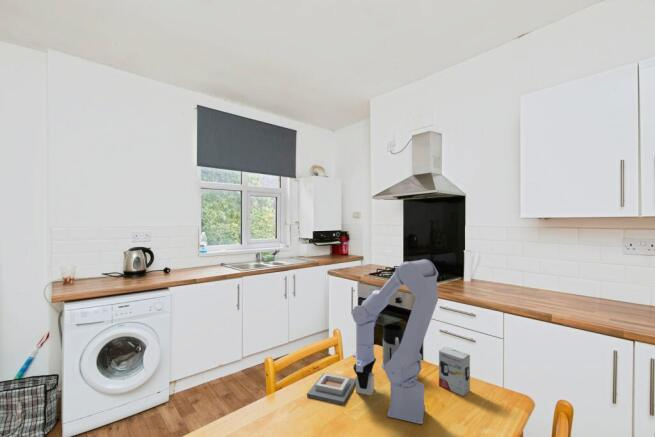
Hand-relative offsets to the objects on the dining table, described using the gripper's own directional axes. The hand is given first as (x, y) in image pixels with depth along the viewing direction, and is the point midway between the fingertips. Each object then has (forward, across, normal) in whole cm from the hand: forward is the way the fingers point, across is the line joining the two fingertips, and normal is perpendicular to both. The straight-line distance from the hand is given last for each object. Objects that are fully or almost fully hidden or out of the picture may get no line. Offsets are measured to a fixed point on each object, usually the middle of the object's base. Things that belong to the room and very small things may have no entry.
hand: (365, 384), depth 97 cm
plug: (+2, 0, 0) cm, 2 cm away
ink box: (+2, -12, +27) cm, 30 cm away
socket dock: (+2, +3, -10) cm, 11 cm away
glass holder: (+2, -17, +7) cm, 19 cm away
